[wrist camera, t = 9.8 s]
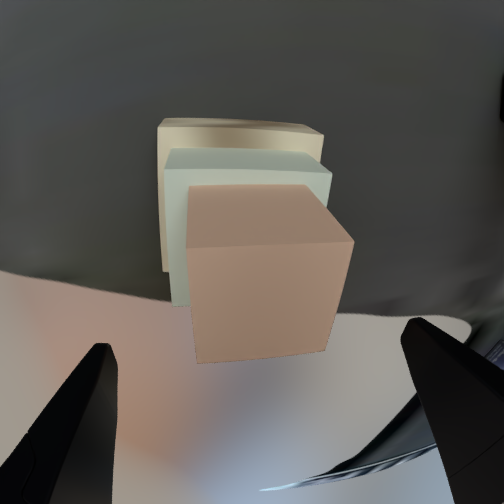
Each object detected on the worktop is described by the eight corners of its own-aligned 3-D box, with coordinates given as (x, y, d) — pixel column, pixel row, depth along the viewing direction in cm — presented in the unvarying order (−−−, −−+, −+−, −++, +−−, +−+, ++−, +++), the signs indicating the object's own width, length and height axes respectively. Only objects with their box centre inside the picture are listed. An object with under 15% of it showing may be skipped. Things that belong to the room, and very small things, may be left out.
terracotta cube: (305, 184, 12) (354, 241, 8) (292, 277, 15) (324, 350, 11) (188, 185, 11) (185, 248, 8) (194, 283, 14) (197, 363, 10)
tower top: (305, 152, 15) (332, 173, 12) (288, 262, 18) (306, 300, 16) (171, 148, 14) (163, 169, 11) (174, 264, 17) (172, 306, 14)
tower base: (302, 123, 18) (324, 135, 15) (285, 240, 22) (300, 269, 19) (165, 117, 16) (157, 127, 13) (166, 240, 20) (162, 271, 17)
